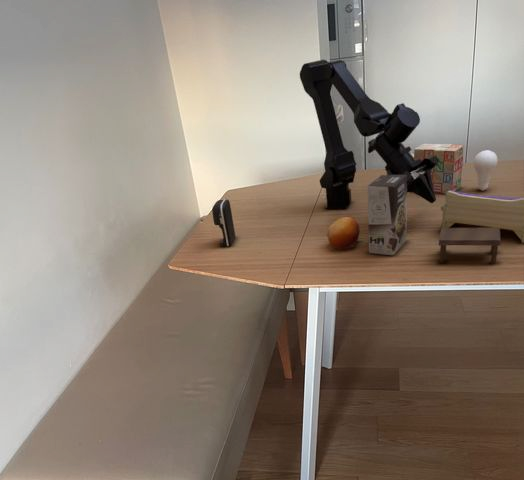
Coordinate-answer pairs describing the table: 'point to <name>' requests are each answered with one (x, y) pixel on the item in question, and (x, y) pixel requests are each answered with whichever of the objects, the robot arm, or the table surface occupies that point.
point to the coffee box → (387, 214)
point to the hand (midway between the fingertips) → (434, 201)
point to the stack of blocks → (443, 165)
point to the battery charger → (224, 221)
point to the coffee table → (469, 239)
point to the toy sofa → (484, 211)
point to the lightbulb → (485, 167)
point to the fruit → (343, 233)
